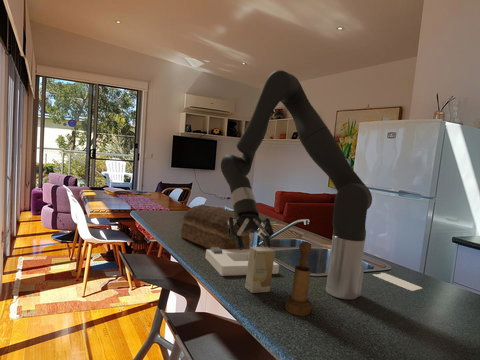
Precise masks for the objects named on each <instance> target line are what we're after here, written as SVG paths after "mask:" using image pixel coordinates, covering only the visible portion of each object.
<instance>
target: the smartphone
mask: <svg viewBox="0 0 480 360" xmlns="http://www.w3.org/2000/svg"><path fill="white" fill-rule="evenodd" d="M371 276H372V277H374V278H377V279H378V280H379V279H380V280H382V281H385V282H387V283H389V284H392V285H395V286H397V287H400V288H403V289H405V290H408V291H409V292H416V291H421V290H424V287H423V286H420V285H417V284H414V283H412V282H409V281H407V280H404V279H402V278H399V277H397V276H395V275H391V274H389V273H386V272H377V273H371Z"/></svg>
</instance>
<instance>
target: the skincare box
mask: <svg viewBox="0 0 480 360" xmlns="http://www.w3.org/2000/svg"><path fill="white" fill-rule="evenodd" d="M249 249H250V252H249V260H248V268H247V275H245V277H246V278H245V285H244V288H245V289H246V290H247V291H249V292H250V293H251V294H257V293H269V292H271V284H272V276H273V274H272V270H273V262H275V254H276V252H275V250H274V249H273V248H271V247H270V248H269V247H264V246H249Z"/></svg>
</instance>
